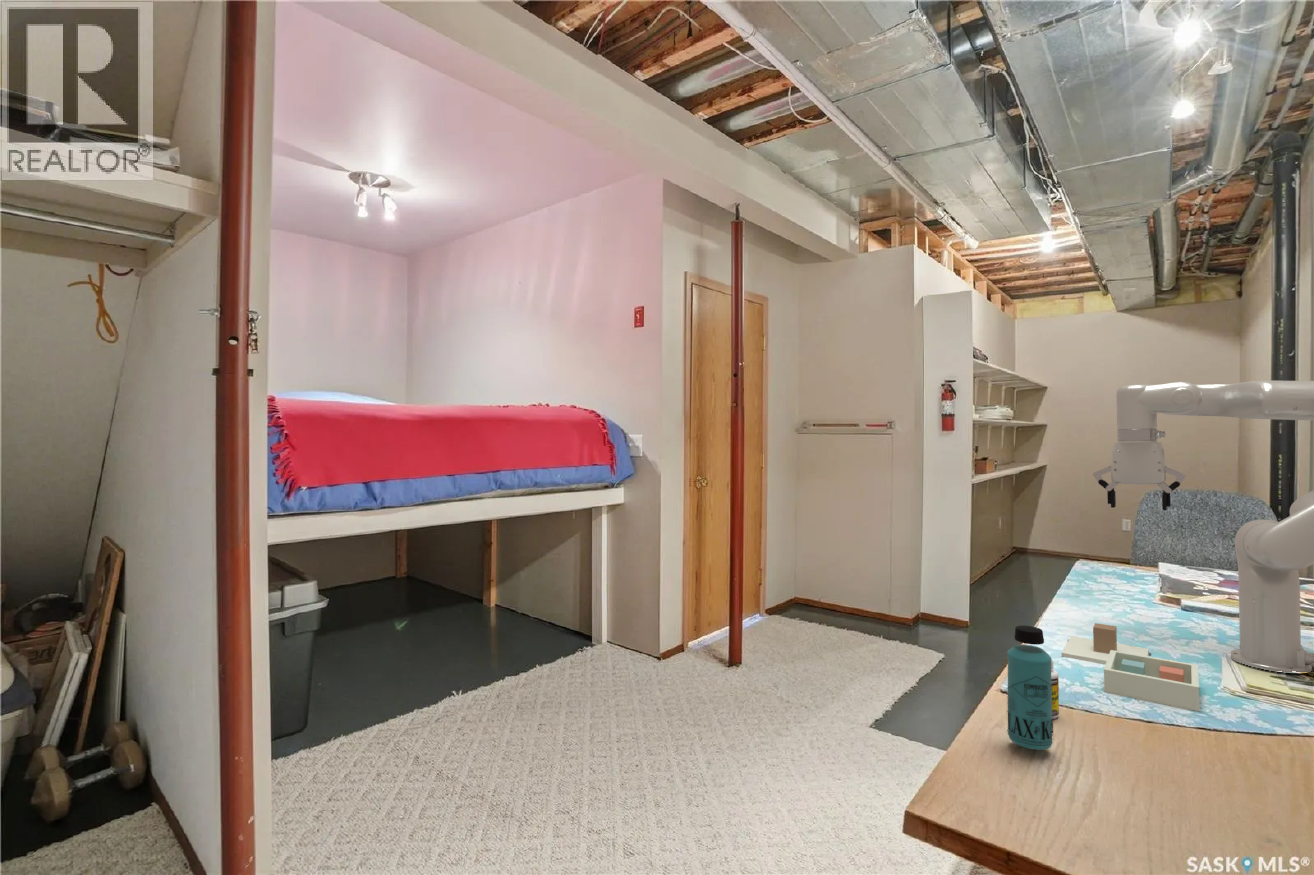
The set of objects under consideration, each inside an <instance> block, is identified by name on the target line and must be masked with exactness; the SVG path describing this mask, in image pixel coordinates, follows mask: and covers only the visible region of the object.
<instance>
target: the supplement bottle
mask: <svg viewBox="0 0 1314 875" xmlns="http://www.w3.org/2000/svg"><path fill="white" fill-rule="evenodd" d="M1054 666H1055V665H1054V660H1053V659H1052V662H1051V685H1052V704H1053V705H1052V720H1055V719H1057V718H1058V716H1060V701H1059V699H1060V693H1059V692H1060V691H1059V688H1060V687H1059V685H1060V684H1059V682H1060V681H1059V672H1058V671H1057V670H1056V669H1055V668H1054Z"/></svg>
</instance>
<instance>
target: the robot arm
mask: <svg viewBox="0 0 1314 875" xmlns="http://www.w3.org/2000/svg"><path fill="white" fill-rule="evenodd" d="M1115 397H1116V425H1117V426H1116V435H1117V436H1116V439H1117V441H1116V442H1114V443H1113V445H1112V450H1111V451H1112V452H1111V461H1110V462H1111V463H1110V464H1111V465H1109V466H1107V467H1104V468H1102V469H1100V470H1097V471H1095V472H1093V474H1092V475H1093V477H1094V478H1095V480H1096V481H1097V483H1098V484H1099V485H1100V486H1101V487H1102V488H1104V489H1105V490H1106V491H1107V504H1108V505H1110V508H1113V509H1114V508H1116V506H1117V505H1116V499H1117V498H1116V495H1117V494H1116V491H1115V488H1116V487H1117V486H1118V485H1119V484H1123V485H1151V486H1153V485H1156V486H1159V487H1160V488H1161V490H1162V493H1161V502H1162V503H1161V504H1162V505H1161V506H1162V507H1161V508H1162V510H1163V511H1167V510H1168V509H1167V508H1168V507H1171V493H1172V492H1174V491H1175V490H1176V489H1178V488H1179V487H1180V486H1181V484H1182V483H1183V481H1184V480H1185V478H1186V476H1187V475H1186V474H1185V473H1183V472H1181V471H1178V470H1177V469H1174V468H1171V467H1168V466H1166V461H1165V459H1166V458H1165V450H1164V446H1163V443H1162V442H1159V441H1158V439H1160V438H1161V439H1162V438H1166V431H1162V430H1159V429H1158V414H1159V413H1162V414H1163V415H1167V416H1190V417H1191V416H1193V417H1194V416H1195V417H1196V416H1197V417H1224V418H1226V417H1227V418H1239V419H1245V420H1246V419H1248V420H1250V419H1251V420H1278V421H1279V420H1286V421H1311V422H1314V380H1271V379H1270V380H1266V379H1265V380H1250V381H1243V382H1237V383H1226V384H1225V383H1224V384H1221V383H1219V384H1194V383H1192V382H1189V381H1183V380H1181V381H1174V382H1173V381H1172V382H1167V383H1160V384H1159V383H1158V384H1128V385H1122V386H1120V387H1118V388H1117V389H1116V396H1115ZM1108 473H1110V478H1111V482H1110V483H1108V482H1107V481H1106V480H1105V479H1104V478H1103V475H1104V474H1108ZM1167 474H1168V475H1171V476H1173V477H1175V478H1176V479H1174V482H1172V483H1171V484H1170V485H1168V484H1167V483H1166V482H1165V481H1166V478H1167V477H1166V476H1167ZM1234 537H1235V538H1234V548H1235V549H1234V550H1235V555H1236V556H1235V557H1236V562H1237V570H1238V572H1237V573H1238V614H1239V615H1238V617H1239V618H1238V620H1239V621H1238V622H1239V623H1238V624H1239V649H1234V650H1232V651H1230V658H1231V659H1232V660H1233V661H1235V662H1236V663H1238V662H1239V664H1241V663H1242V664H1241V665H1243V664H1245V665H1244V666H1246V665H1248V666H1247V667H1249V666H1251V667H1250V668H1253V667H1257V668H1261V669H1264V670H1263V671H1265V670H1269V671H1268V672H1271V671H1282V672H1292V671H1296V672H1310V673H1312V672H1313V666H1312V664H1314V652H1308V651H1307V650H1304V647H1303V646H1302V643H1301V642H1302V638H1301V637H1302V636H1301V632H1302V631H1301V584H1300V583H1301V581H1300V576H1299V570H1302V569H1305V568H1308V567H1310V566H1312V565H1314V489H1312V490H1311V491H1309V492H1307V493H1305V494H1303V495H1301V496H1300V497H1298V498H1297V499H1296V500H1294V502H1292V504H1291V505H1290V507H1289V516H1288V517H1286V518H1283V519H1282V520H1280V521H1276V520H1272V519H1262V518H1261V519H1254V520H1250V521H1248V522H1246V523H1244V524H1242V526H1241V527H1240V528H1239V529H1238V530H1237V532H1236V534H1235V536H1234ZM1257 668H1256V669H1257ZM1261 669H1260V670H1261ZM1311 671H1312V672H1311Z"/></svg>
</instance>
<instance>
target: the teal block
mask: <svg viewBox="0 0 1314 875" xmlns="http://www.w3.org/2000/svg"><path fill="white" fill-rule="evenodd" d="M1121 668H1122V671H1124V672H1129V673H1135V674H1140V675H1145V663H1143V662H1138V661H1132V660H1127V659H1123V660H1122V664H1121Z"/></svg>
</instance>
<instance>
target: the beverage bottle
mask: <svg viewBox="0 0 1314 875" xmlns="http://www.w3.org/2000/svg"><path fill="white" fill-rule="evenodd" d="M1014 629H1015V630H1014V640H1015V641H1016V642H1019V643H1022V644H1016V645H1014V646H1012V647H1011V648H1009V649H1008V651H1007V652H1006V654H1007V693H1006V694H1007V707H1006V709H1007V728H1006V732H1007V735H1008V738H1009V740H1010V741H1011V742H1012V743H1014V744H1016V745H1018V746H1020V747H1022V748H1026V749H1030V750H1038V751H1039V750H1040V751H1042V750H1044V751H1045V750H1048V749H1050V748H1051V747H1052V745H1053V743H1054V738H1053V734H1054V721H1053V719H1052V705H1053V704H1052V685H1051V662H1052V660H1053V658H1052V656H1051V655H1050V654H1049V653H1047V651H1046V650H1045V649H1043V648H1041V647H1038V646H1036V645H1043V644H1045V638H1044V631H1043V629H1041V628H1039V627H1036V626H1032V625H1016V626H1015V628H1014Z"/></svg>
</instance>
